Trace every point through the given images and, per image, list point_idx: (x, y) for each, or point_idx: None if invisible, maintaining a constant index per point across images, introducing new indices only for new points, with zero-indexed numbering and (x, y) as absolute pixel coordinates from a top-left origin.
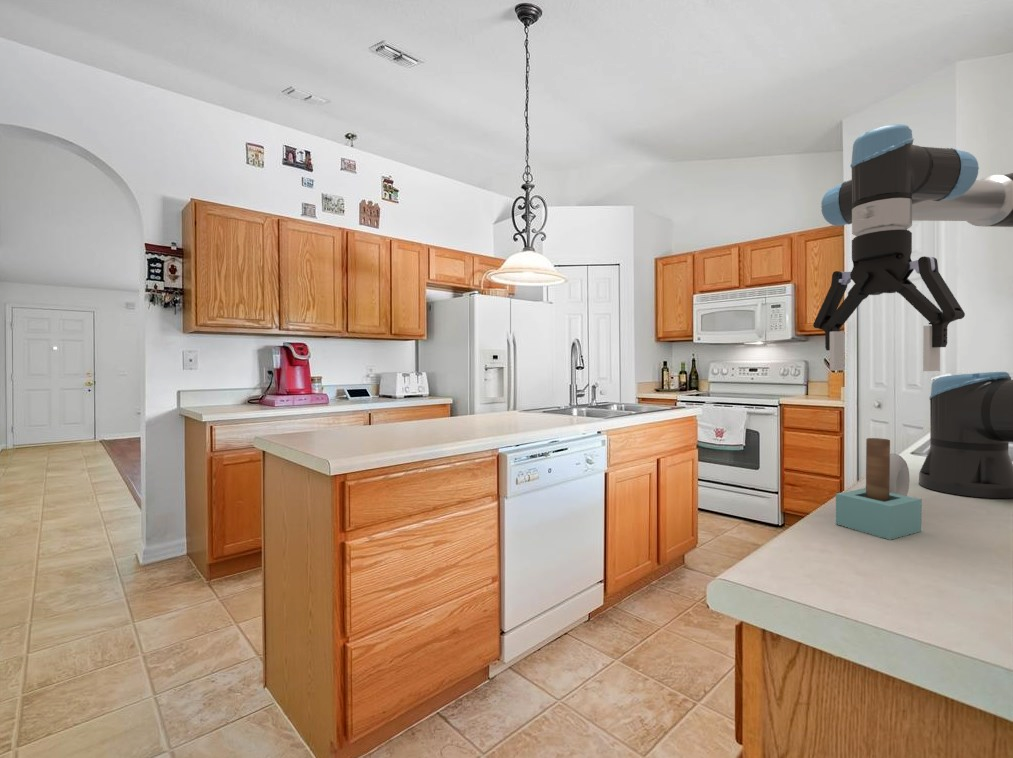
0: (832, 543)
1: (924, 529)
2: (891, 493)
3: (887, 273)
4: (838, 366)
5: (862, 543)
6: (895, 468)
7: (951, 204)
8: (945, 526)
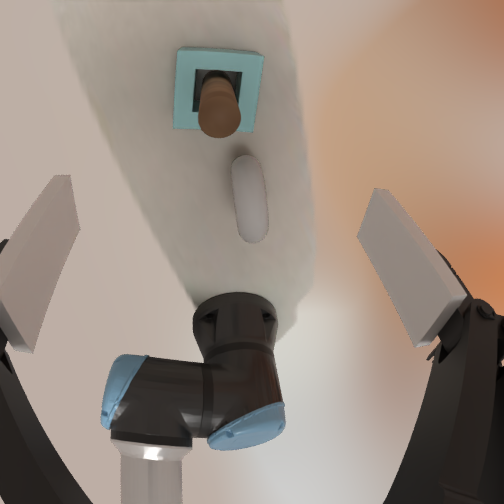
0: None
1: None
2: None
3: None
4: (372, 217)
5: (195, 6)
6: (235, 192)
7: None
8: (173, 161)
